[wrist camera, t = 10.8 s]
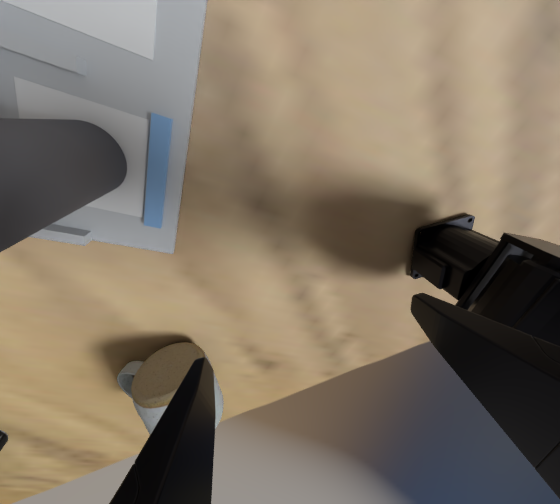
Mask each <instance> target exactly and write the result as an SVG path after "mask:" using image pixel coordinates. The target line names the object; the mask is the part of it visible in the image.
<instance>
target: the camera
mask: <svg viewBox="0 0 560 504" xmlns="http://www.w3.org/2000/svg"><path fill="white" fill-rule="evenodd" d="M7 441H8V435H7V434H6V433H5V432H4V431H2V430H0V451H1V449H2V448H3V446H4V445H5V444H6V442H7Z"/></svg>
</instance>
